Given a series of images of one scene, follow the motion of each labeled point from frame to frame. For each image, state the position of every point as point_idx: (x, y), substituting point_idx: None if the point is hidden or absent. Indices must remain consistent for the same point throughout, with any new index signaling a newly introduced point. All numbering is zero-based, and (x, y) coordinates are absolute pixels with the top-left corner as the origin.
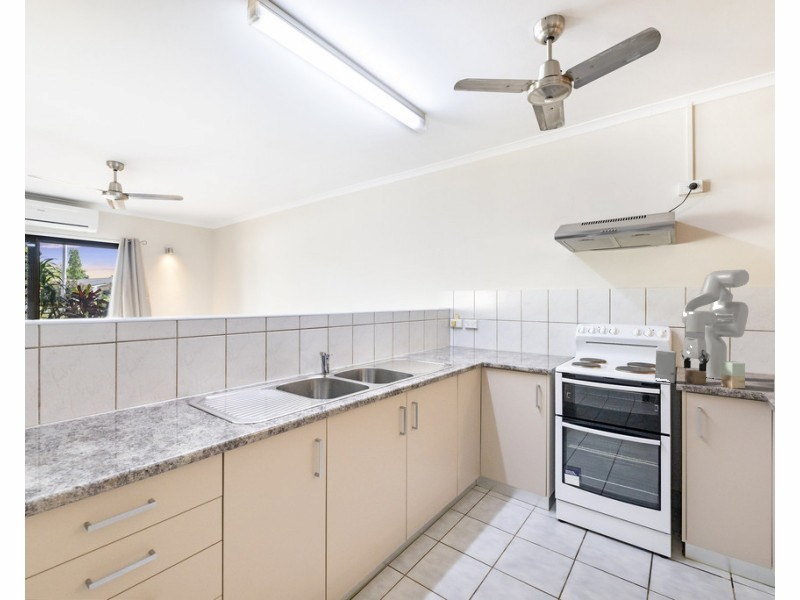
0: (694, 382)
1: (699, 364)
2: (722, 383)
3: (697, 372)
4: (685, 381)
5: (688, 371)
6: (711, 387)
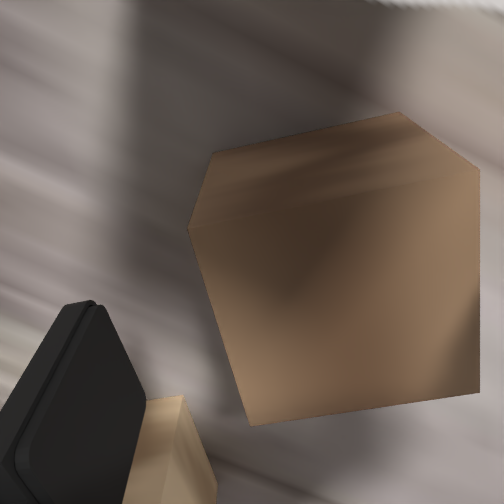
0: (211, 163)
1: (5, 425)
2: (162, 422)
3: (207, 287)
4: (387, 114)
5: (359, 187)
6: (44, 261)
